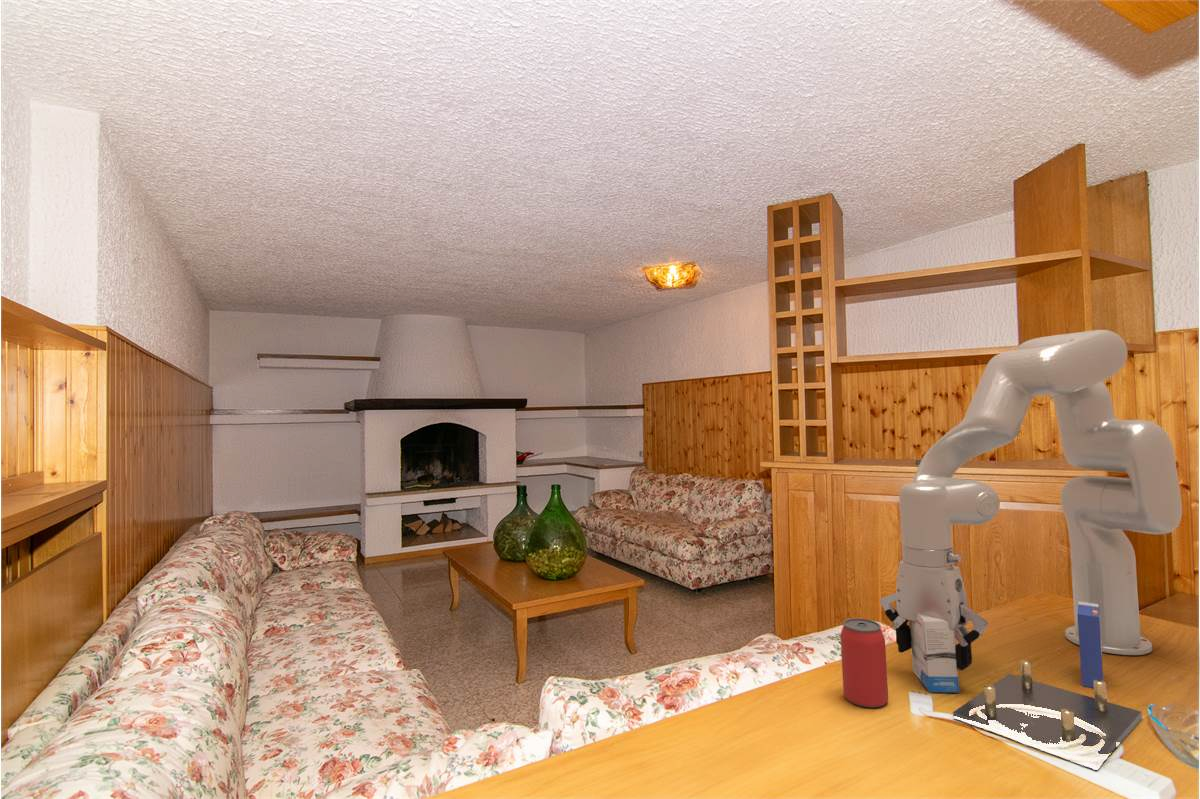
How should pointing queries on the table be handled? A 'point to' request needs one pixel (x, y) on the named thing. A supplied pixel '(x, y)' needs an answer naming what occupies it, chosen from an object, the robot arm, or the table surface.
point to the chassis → (1070, 704)
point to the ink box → (934, 654)
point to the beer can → (864, 663)
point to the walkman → (1089, 643)
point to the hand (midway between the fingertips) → (933, 658)
